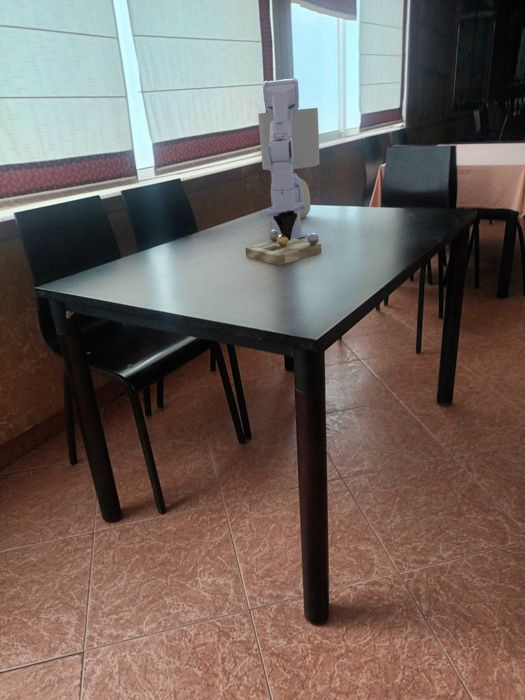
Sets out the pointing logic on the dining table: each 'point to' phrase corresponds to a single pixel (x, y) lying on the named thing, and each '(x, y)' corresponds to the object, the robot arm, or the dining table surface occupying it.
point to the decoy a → (274, 235)
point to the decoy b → (312, 238)
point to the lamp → (296, 143)
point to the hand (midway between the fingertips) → (286, 240)
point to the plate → (282, 251)
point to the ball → (282, 240)
